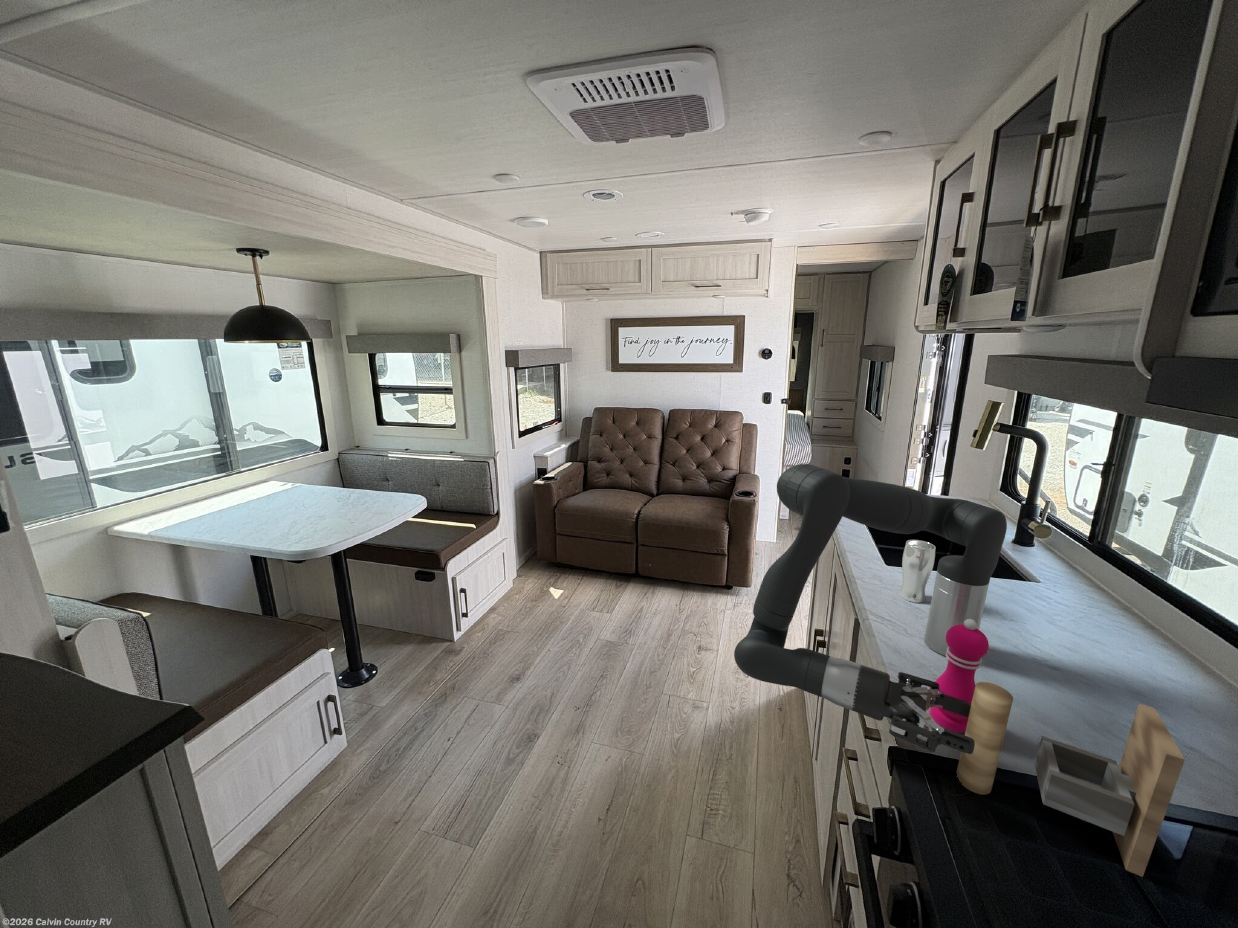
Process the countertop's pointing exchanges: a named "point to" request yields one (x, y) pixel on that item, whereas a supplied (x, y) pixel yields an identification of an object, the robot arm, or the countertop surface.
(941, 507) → the robot arm
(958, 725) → the pepper mill
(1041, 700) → the countertop surface
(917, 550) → the beer glass
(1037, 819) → the countertop surface
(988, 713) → the oak post
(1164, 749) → the cup bracket
